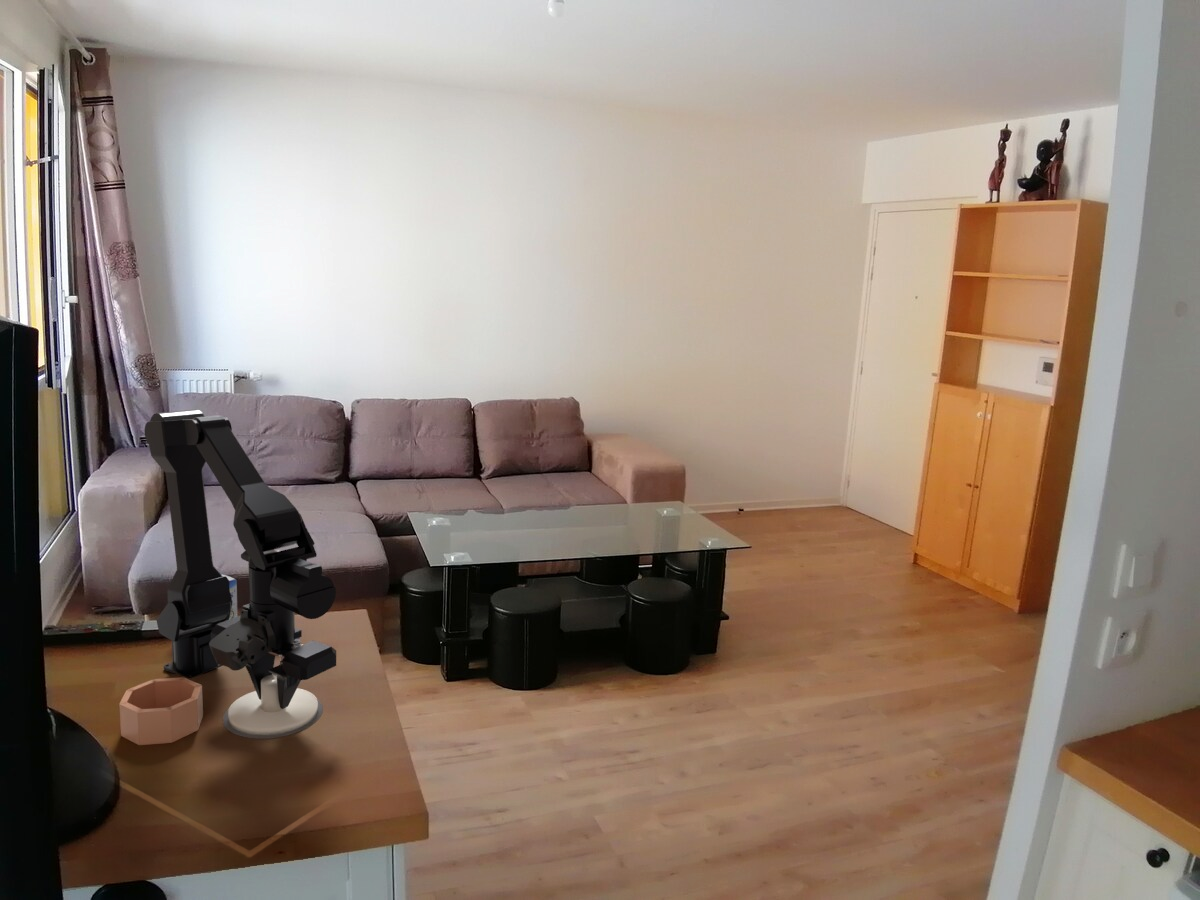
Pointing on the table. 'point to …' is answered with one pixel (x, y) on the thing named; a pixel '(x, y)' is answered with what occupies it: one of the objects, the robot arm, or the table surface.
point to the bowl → (161, 711)
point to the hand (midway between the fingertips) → (273, 703)
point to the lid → (271, 710)
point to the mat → (231, 729)
